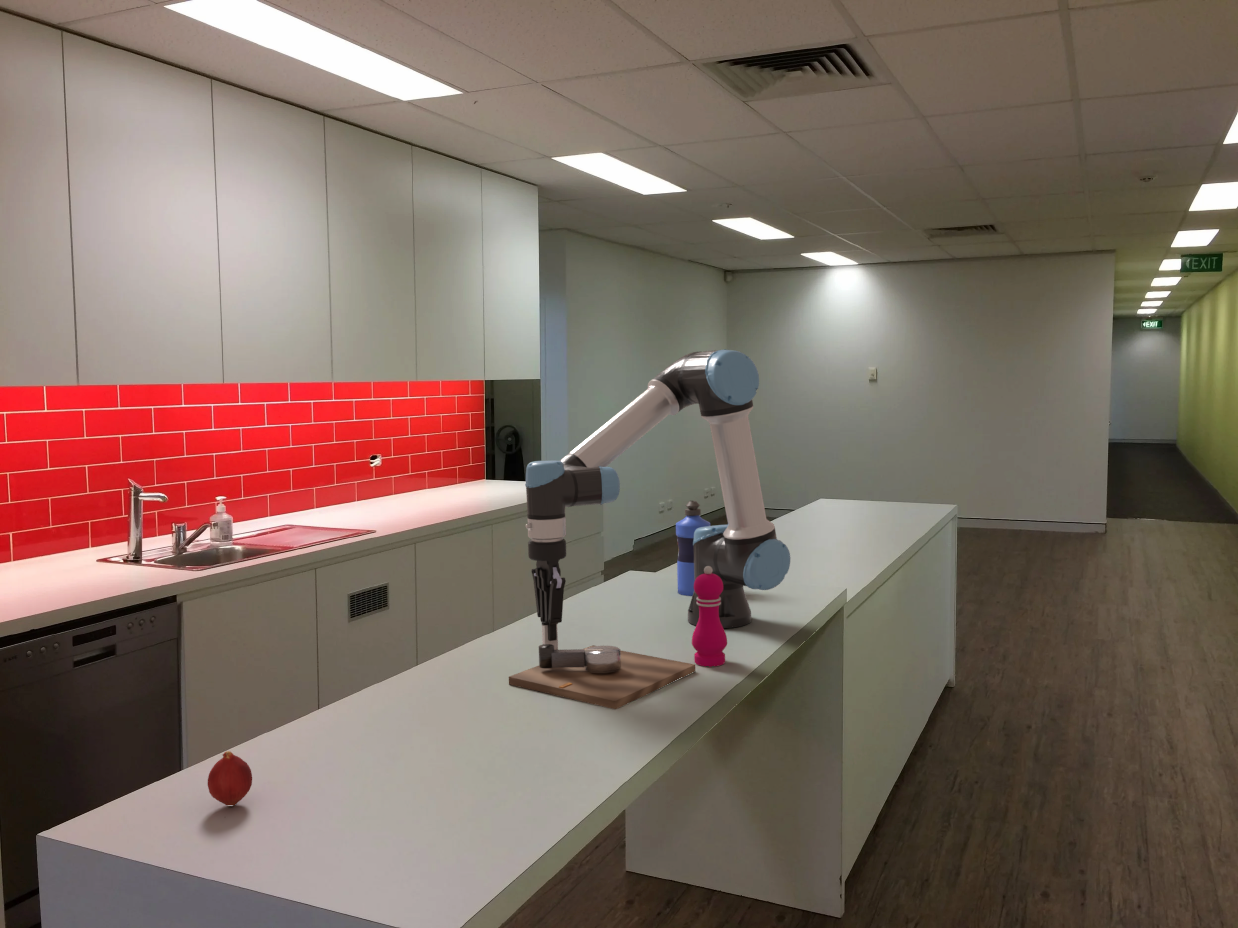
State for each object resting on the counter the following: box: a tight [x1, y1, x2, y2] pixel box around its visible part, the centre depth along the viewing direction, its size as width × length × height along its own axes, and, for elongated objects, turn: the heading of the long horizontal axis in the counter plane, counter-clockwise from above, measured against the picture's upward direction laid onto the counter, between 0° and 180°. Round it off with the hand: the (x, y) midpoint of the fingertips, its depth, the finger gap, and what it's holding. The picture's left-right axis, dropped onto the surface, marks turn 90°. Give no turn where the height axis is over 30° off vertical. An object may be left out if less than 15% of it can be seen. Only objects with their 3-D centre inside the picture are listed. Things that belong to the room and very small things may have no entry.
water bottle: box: [675, 500, 711, 597], centre depth 261 cm, size 9×9×25 cm
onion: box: [207, 750, 253, 806], centre depth 135 cm, size 6×6×8 cm
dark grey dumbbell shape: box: [538, 643, 621, 673], centre depth 189 cm, size 16×7×4 cm, turn 88°
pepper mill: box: [691, 566, 728, 668], centre depth 196 cm, size 7×7×20 cm
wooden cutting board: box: [508, 645, 696, 710], centre depth 189 cm, size 26×26×2 cm
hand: (550, 654), depth 193 cm, fingers closed
